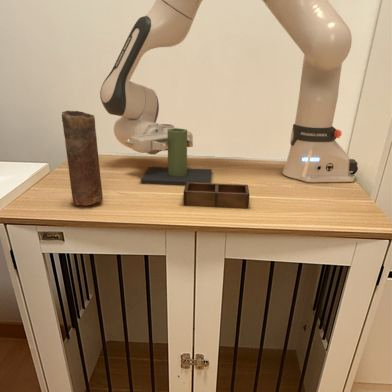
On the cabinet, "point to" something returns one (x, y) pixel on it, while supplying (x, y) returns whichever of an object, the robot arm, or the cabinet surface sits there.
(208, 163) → the cabinet surface
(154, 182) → the mat
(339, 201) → the cabinet surface
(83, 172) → the weathered brown tube
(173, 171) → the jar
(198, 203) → the divided wooden tray
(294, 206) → the cabinet surface
